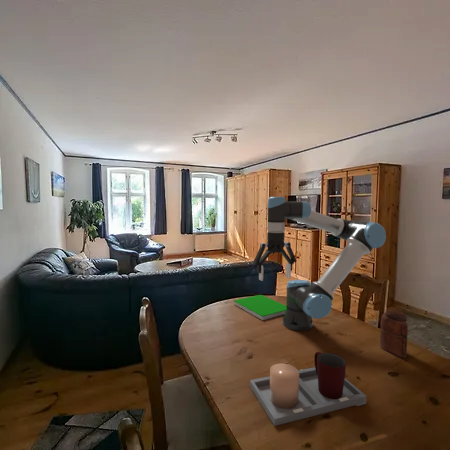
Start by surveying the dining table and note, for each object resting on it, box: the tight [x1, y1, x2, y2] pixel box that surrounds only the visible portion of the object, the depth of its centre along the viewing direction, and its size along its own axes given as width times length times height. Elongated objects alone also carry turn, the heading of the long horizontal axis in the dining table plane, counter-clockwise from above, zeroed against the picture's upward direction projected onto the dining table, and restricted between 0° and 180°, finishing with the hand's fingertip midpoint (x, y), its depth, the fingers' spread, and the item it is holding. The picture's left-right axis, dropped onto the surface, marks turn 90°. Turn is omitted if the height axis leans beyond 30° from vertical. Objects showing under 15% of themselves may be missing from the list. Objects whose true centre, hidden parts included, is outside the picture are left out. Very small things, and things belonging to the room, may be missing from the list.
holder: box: [249, 366, 367, 427], centre depth 92 cm, size 32×18×3 cm, turn 108°
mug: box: [313, 351, 347, 399], centre depth 94 cm, size 12×9×11 cm
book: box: [233, 294, 287, 321], centre depth 168 cm, size 22×28×3 cm
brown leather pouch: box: [379, 309, 409, 359], centre depth 119 cm, size 12×6×18 cm, turn 28°
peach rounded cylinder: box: [269, 362, 299, 409], centre depth 89 cm, size 9×9×9 cm
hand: (274, 279), depth 126 cm, fingers open, 13 cm apart
